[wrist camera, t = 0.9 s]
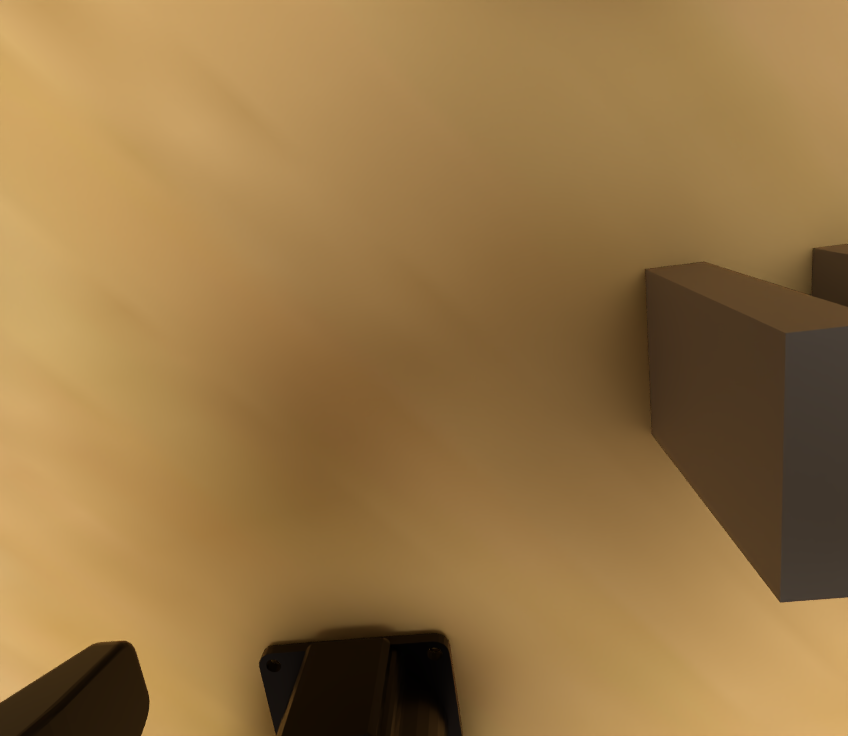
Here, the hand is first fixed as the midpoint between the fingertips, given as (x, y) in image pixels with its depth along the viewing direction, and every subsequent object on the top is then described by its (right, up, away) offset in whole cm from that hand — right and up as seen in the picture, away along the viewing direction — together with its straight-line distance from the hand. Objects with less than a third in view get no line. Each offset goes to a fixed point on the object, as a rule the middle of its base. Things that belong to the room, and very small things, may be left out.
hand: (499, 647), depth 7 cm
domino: (+6, +4, +11) cm, 13 cm away
